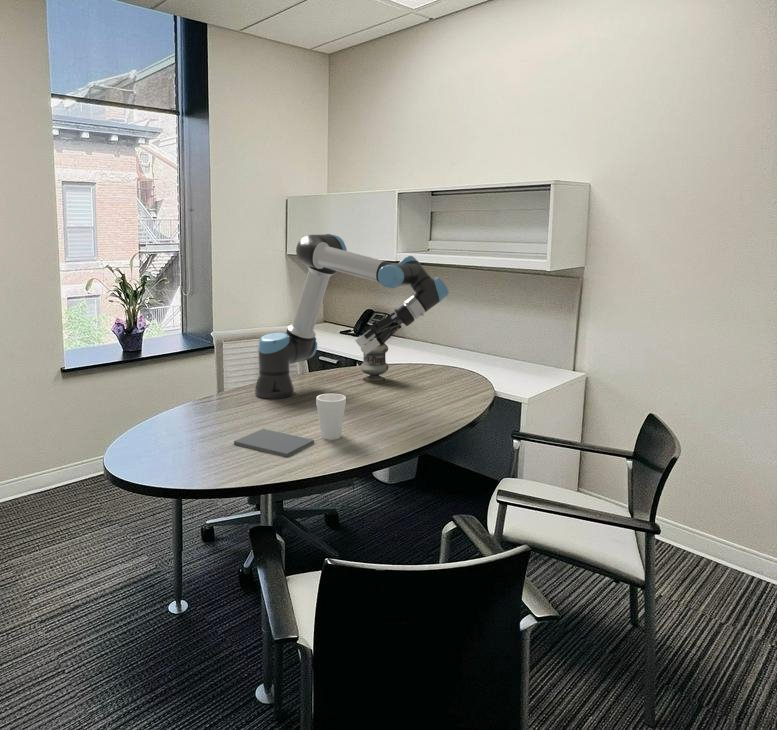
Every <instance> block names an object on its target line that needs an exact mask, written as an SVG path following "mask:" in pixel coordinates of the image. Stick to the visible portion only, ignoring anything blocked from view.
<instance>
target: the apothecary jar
mask: <svg viewBox="0 0 777 730" xmlns="http://www.w3.org/2000/svg"><path fill="white" fill-rule="evenodd" d="M375 338H376V337H373V338H372V339H370V340H369V341H368V342H366V343H365V344H364V345H362V346H361V347H360V350H361V349H362V348H363V347H364V346H366V345H367V344H368V343H369V342H371V341H372V340H373V339H375ZM376 340H377V339H376ZM388 351H389V346H388V345H387V344H386V342H385V343H384V345H382V346H381V345H379V346H377V347H376V348H375V349H373V350H372V351H371V352H369V353H368V354H367V355H365V354H364V352H363V351H362V350H361V352H362V353H363V360H362V361H363V362H362V363H361V365H360V370H361V372H363V373H364V374H366V375H367V376H364V377H363V378H362V380H363V381H364V382H366V383H372V384H380V383H384V382H386V377H383V376H381V375H384V374H385V373H387V372H388V370H389V365H388V363H387V362H386V353H387V352H388Z"/></svg>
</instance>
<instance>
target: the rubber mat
mask: <svg viewBox="0 0 777 730" xmlns="http://www.w3.org/2000/svg"><path fill="white" fill-rule="evenodd" d="M313 444H315V439H310V438H306V437H302V436H297V435H294V434H293V435H292V434H289V433H285V432H280V431H275V430H271V429H265V428H262V429H259V430H257V431H255V432H253V433H250V434H247V435H245V436H243V437H241V438H238V439H236V440H234V441H233V445H235V446H241V447H244V448H248V449H253V450H257V451H261V452H264V453H269V454H273V455H276V456H280V457H285V458H287V457H290V456H291V455H293V454H296V453H298V452H299V451H302V450H303V449H306V448H307V447H309V446H312V445H313Z"/></svg>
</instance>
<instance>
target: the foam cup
mask: <svg viewBox="0 0 777 730" xmlns="http://www.w3.org/2000/svg"><path fill="white" fill-rule="evenodd" d="M346 397H347V396H346V395H344V394H340V393H323V394H319V395H317V396H316V399H315V401H316V403H315V404H316V408H317V416H318V422H319V423H318V424H319V430H320V438H321V439H324V440H330V441H332V440H338V439H340V438H342V437H341V436H342V431H343V430H342V429H343V423H344V415H345V410H346V409H345V408H346V405H347V398H346Z"/></svg>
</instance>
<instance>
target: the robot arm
mask: <svg viewBox="0 0 777 730" xmlns="http://www.w3.org/2000/svg"><path fill="white" fill-rule="evenodd" d="M295 253H296V257H297V259H298V260H299V262H300V263H301V264H302V265H305V266H306V267H307V268H308V271H307V275H306V278H305V282H304V284H303V286H302V287H303V288H302V291H301V295H300V299H299V302H298V305H297V308H296V312H295V315H294V319H293V322H292V323H291V324H289V325H288V326H287V329H286V331H285V333H284V332H273V333H267V334H264V335H263V336H261V337H260V338H259V339H258V348H257V349H258V369H259V371H258V372H259V374H258V377H257V378H258V379H257V381H256V385H255V387H254V395H255V396H257V397H259V398H263V399H270V400H271V399H273V400H275V399H283V398H284V399H285V398H288V397H292V396H294V394H295V388H294V385H293V382H292V379H291V376H290V365H292V364H296V363H299V362H300V363H301V362H304V361H307V360H310V359H311V358H312V357H314V355H315V354H316V353H317V350H318V342H317V338H316V337H317V336H316V332H315V330H314V329H315V326H316V322H317V319H318V316H319V312H320V310H321V307H322V303H323V301H324V297H325V294H326V291H327V288H328V284H329V282H330V278H331V277H332V276H333V275H336V272H339V273H343V274H347V275H351V276H354V277H358V278H361V279H366V280H369V281H372V282H375V283H378V284H380V285H381V286H382V287H384V288H388V289H389V288H391V289H395V288H397V287H398V288H399V287H403V286H409V287H410V288H411V289H412V290H413V291H414V292H415V293H413V294H412V295H411V296H410V297H408V298H407V299H405V300H404V301H403V303H400V304H399V305H398V306H397V307H394V312H392V313H390V315H388V316H386V317H384V318H383V319H381V320H378V321H377V322H374V324H371V325H370V326H369V329H368V330H367V331H366V332H365V333H363V334H362V335H360V336H359V337H358V338H356V339H354V341H355V342H356V344H357V345H358V347H359V348H360V350H362V351H363V352H364V353H363V352H362V351H361V352H362V353H363V355H364V354H365V355H367V354H368V353H369V352H371V351H372V350H373V349H375V348H376V347H377V346H379V345H381V346H382V345H384V343H385V344H386V342H387V341H388V340H389V339H390V338H392V336H393V335H395V333H396V332H398V331H399V329H402V324H403V325H404V326H405V327H408V326H410V325H411V324H413V322H415V320H416V319H419V318H420V317H424V315H425V313H427V312H428V311H430V309H432V308H433V307H434V306H436V305H437V304H439V303H441V302H442V301H443V300H444V299H445V298H447V296H448V295H449V291H450V290H449V289H448V286H447V285H446V283H445V282H444V281H443V279H441V278H440V277H439V276H438V277H437V276H436V277H435V278H432V277H431V276H430V274H429V273H428V272H427V271H426V270H425V268H424V267H423V266H422V265H421V263H420V262H419V260H417V258H416V257H415V256H413V255H407V256H406V257H404V258H402V259H401V260H400V261H399V262H398V263H392V262H389V261H385V260H382V259H379V258H378V259H377V258H373V257H372V256H371V257H370V256H367V255H363V254H359V253H354V252H351V251H348V250H347V246H346V244H345V241H344V240H343V239H342V238H341V236H338V235H335V234H331V233H326V234H307V235H305V236H303V237H301V239H300V240H299V241H298V242H297V245H296V249H295ZM379 333H380V334H379ZM377 334H379V335H378V336H377V337H376V335H377ZM372 338H375V339H373V340H372V341H371V342H369V343H368V344H367V345H366V346H364V347H363V348H362V349H361V346H362V345H364V344H365V343H366V342H368V341H369V340H370V339H372ZM376 339H377V340H376Z"/></svg>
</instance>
